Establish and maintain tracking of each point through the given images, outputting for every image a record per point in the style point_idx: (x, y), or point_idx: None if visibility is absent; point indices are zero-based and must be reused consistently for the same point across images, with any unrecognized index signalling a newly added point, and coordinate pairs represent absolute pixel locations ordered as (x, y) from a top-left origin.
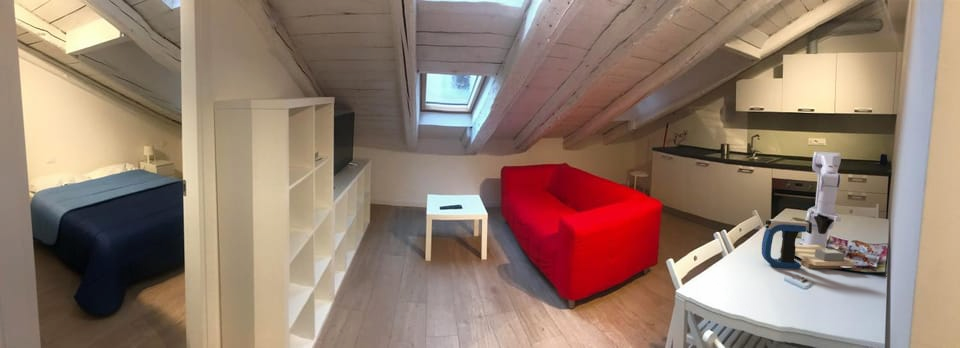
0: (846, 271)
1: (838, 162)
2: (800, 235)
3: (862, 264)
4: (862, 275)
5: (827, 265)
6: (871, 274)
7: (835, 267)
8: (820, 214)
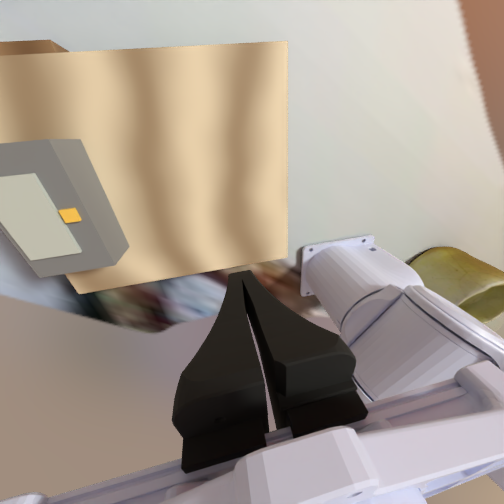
0: None
1: None
2: (416, 268)
3: (181, 317)
4: None
5: None
6: (77, 303)
7: None
8: (227, 482)
